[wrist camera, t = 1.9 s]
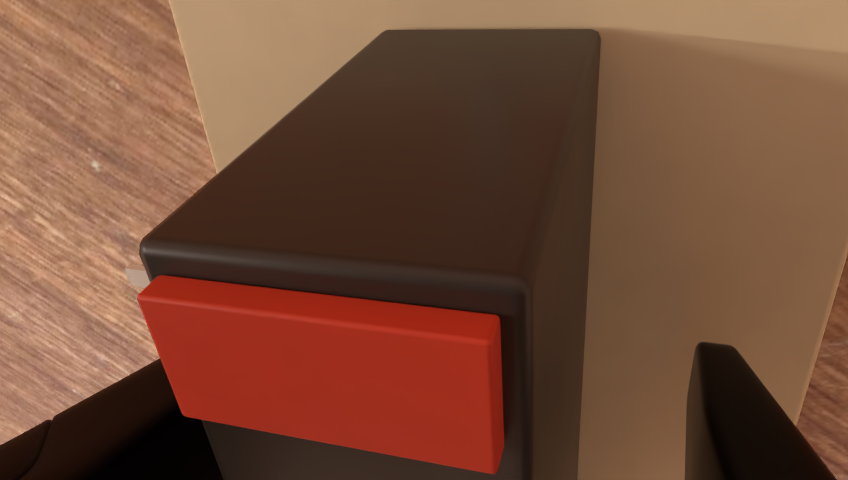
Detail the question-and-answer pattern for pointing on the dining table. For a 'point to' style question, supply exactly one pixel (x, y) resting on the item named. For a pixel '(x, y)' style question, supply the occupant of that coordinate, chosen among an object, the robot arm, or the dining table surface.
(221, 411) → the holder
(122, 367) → the dining table surface
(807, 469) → the robot arm
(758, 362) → the knob base
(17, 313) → the dining table surface
